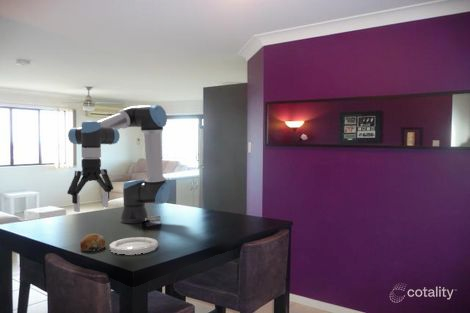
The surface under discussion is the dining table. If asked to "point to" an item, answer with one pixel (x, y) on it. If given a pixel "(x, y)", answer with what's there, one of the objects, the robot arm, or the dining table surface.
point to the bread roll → (92, 242)
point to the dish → (133, 245)
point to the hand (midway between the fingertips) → (91, 209)
